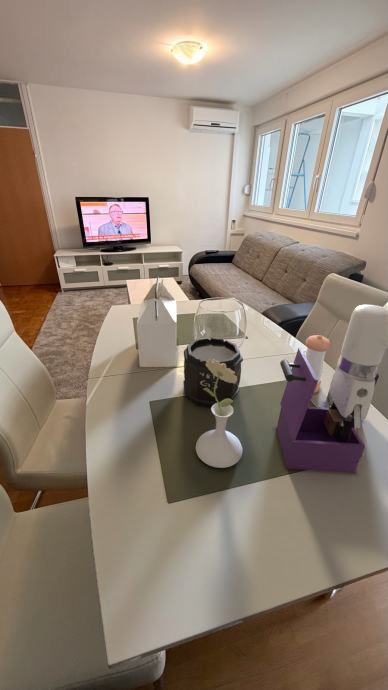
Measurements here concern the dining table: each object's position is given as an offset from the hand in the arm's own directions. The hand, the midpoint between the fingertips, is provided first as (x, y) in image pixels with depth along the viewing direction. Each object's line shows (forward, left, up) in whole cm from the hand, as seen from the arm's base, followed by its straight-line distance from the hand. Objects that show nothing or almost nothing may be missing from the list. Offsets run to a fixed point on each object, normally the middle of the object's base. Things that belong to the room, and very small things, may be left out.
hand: (336, 428), depth 71 cm
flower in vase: (+28, +2, -8) cm, 29 cm away
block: (0, 0, 0) cm, 0 cm away
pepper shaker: (-2, -27, -8) cm, 28 cm away
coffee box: (-9, -15, -8) cm, 19 cm away
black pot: (+30, -22, -8) cm, 38 cm away
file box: (+4, 0, -8) cm, 9 cm away
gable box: (+50, -45, -8) cm, 68 cm away
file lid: (+11, 0, +10) cm, 14 cm away
